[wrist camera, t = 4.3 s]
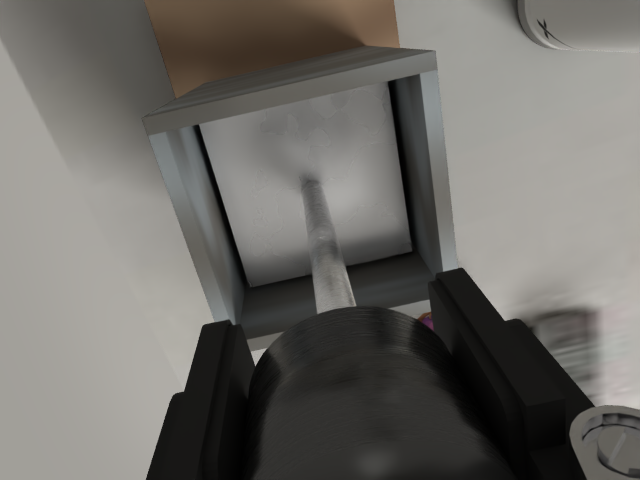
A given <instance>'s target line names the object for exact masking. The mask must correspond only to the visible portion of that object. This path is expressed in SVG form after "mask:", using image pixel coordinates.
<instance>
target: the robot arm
mask: <svg viewBox="0 0 640 480" xmlns="http://www.w3.org/2000/svg"><path fill="white" fill-rule="evenodd" d="M428 293H429V300H430V307H431V315H432V322H433V330H434V332H435V333H436V334H437V335H438V336H439V337H440V338H441V339H442V341H443V342H444V343H445V345H446V346H447V348H448V350H449V351H450V353H451V355H452V357H453V359H454V360H455V362H456V364H457V366H458V368H459V370H460V372H461V374H462V375H463V377H464V379H465V381H466V383H467V385H468V387H469V388H470V390H471V392H472V394H473V396H474V398H475V400H476V402H477V403H478V405H479V407H480V409H481V411H482V413H483V415H484V417H485V418H486V420H487V422H488V424H489V426H490V428H491V430H492V431H493V433H494V435H495V437H496V439H497V441H498V443H499V445H500V446H501V448H502V450H503V452H504V454H505V456H506V458H507V459H508V461H509V463H510V465H511V467H512V469H513V471H514V473H515V474H516V476H517V478H518V480H640V410H638V409H634V408H629V407H625V406H613V405H604V406H599V407H595V406H594V405H593V403H592V402H591V401H590V400H589V399H588V398H587V396H586V395H585V394H584V393H583V392H582V390H581V389H580V388H579V387H578V386H577V385H576V383H575V382H574V381H573V380H572V379H571V378H570V376H569V375H568V374H567V373H566V372H565V370H564V369H563V368H562V367H561V366H560V365H559V363H558V362H557V361H556V360H555V359H554V358H553V356H552V355H551V354H550V353H549V352H548V350H547V349H546V348H545V347H544V346H543V345H542V343H541V342H540V341H539V340H538V339H537V338H536V336H535V335H534V334H533V333H532V332H531V330H530V329H529V328H528V327H527V326H526V325H525V324H524V323H523V322H522V321H521V320H520V319H512V320H507V321H504V319H503V318H502V317H501V316H500V314H499V313H498V312H497V310H496V309H495V308H494V307H493V305H492V304H491V303H490V302H489V300H488V299H487V298H486V296H485V295H484V294H483V293H482V291H481V290H480V289H479V288H478V286H477V285H476V284H475V283H474V281H473V280H472V279H471V277H470V276H469V275H468V274H467V272H466V271H465V270H464V269H463V268H457V269H453V270H448V271H444V272H439V273H436V275H435V280H434V281H429V282H428ZM254 369H255V364H254V361H253V358H252V355H251V352H250V349H249V346H248V343H247V340H246V337H245V334H244V331H243V328H242V326H241V324H236V325H233V324H232V322H231V321H230V320H229V319H228V320H223V321H219V322H214V323H210V324H205V325H203V327H202V329H201V333H200V337H199V340H198V344H197V347H196V351H195V354H194V358H193V362H192V365H191V369H190V372H189V376H188V380H187V383H186V387H185V390H184V392H180V393H176V394H175V395H173V397H172V399H171V401H170V403H169V407H168V410H167V413H166V416H165V420H164V423H163V426H162V429H161V433H160V436H159V439H158V442H157V445H156V449H155V452H154V455H153V458H152V462H151V465H150V468H149V471H148V474H147V478H146V480H240V478H241V468H242V457H243V447H244V437H245V426H246V416H247V405H248V395H249V386H250V382H251V377H252V374H253V372H254Z"/></svg>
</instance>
